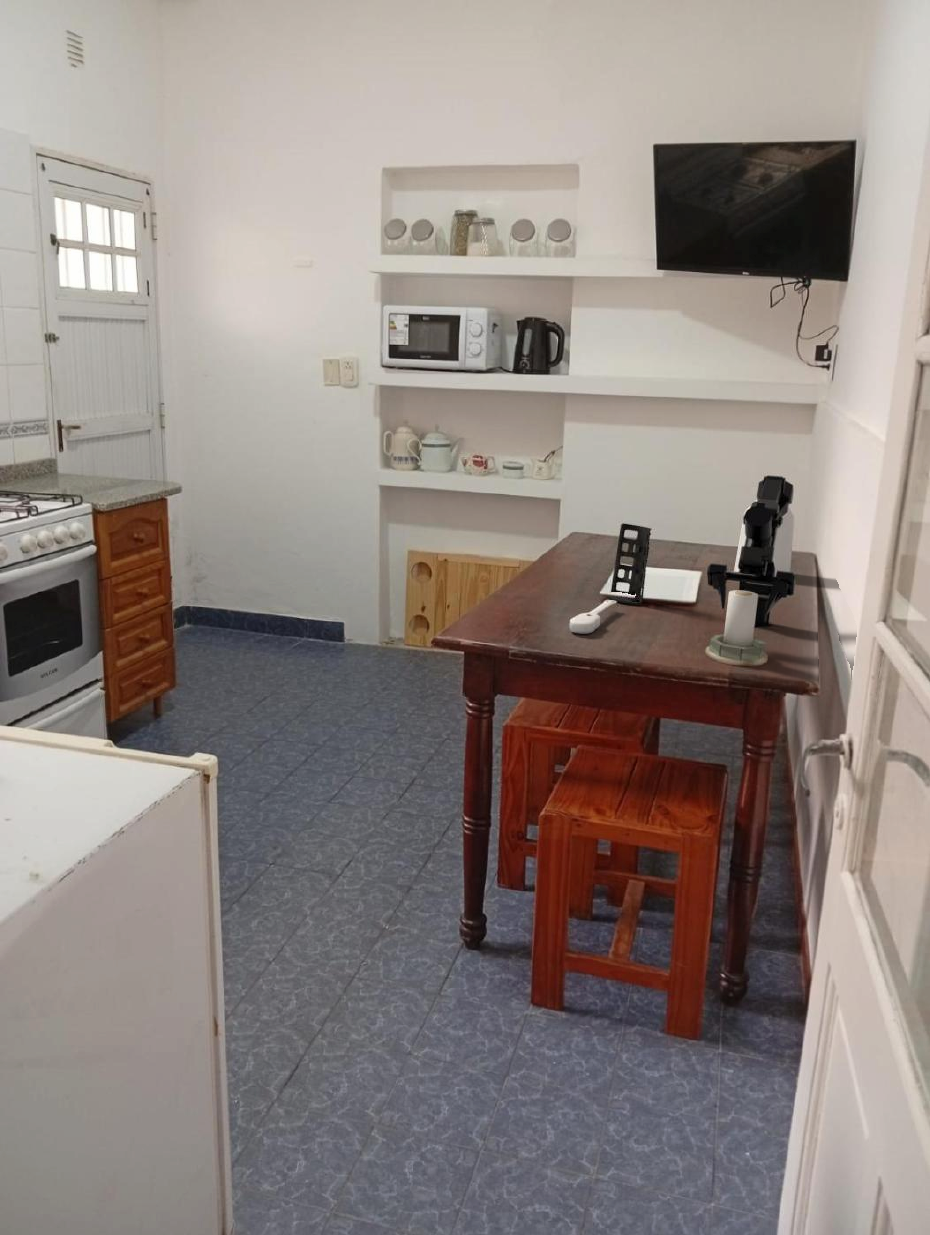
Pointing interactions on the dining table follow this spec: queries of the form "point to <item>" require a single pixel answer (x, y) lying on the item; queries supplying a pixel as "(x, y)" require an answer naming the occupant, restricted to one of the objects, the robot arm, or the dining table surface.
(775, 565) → the milk
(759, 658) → the stand
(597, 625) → the white long handled piece
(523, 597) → the dining table surface
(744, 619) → the paper roll
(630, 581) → the holder
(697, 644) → the dining table surface
